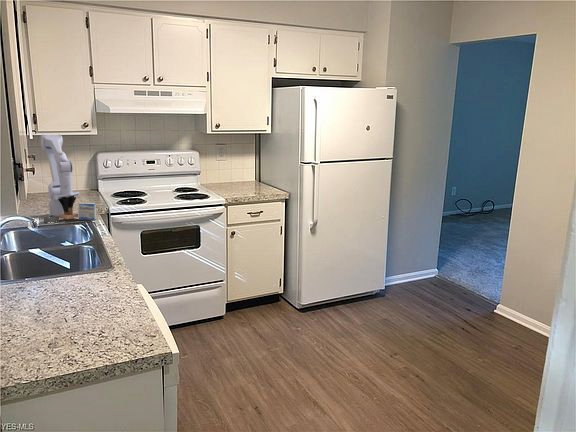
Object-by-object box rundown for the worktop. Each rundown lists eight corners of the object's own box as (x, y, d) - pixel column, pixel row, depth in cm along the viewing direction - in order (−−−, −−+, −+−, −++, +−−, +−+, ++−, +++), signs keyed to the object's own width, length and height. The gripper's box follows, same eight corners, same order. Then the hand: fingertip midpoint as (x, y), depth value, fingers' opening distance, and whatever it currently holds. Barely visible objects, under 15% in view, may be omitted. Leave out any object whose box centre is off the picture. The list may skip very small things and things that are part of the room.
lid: (67, 219, 232) (66, 209, 231) (59, 217, 235) (58, 208, 234) (78, 216, 238) (77, 207, 237) (69, 215, 240) (68, 206, 239)
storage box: (43, 222, 231) (43, 216, 230) (52, 220, 235) (52, 214, 235) (50, 223, 229) (50, 217, 228) (59, 221, 233) (58, 215, 233)
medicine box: (78, 220, 236) (78, 203, 234) (80, 218, 240) (79, 202, 238) (94, 220, 238) (94, 204, 236) (96, 218, 242) (95, 202, 240)
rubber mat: (57, 220, 235) (57, 220, 235) (69, 218, 241) (69, 217, 241) (67, 222, 232) (67, 221, 232) (80, 219, 238) (80, 219, 238)
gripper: (58, 187, 225) (61, 214, 227) (83, 184, 237) (85, 209, 240) (49, 186, 227) (51, 212, 230) (73, 183, 240) (75, 208, 243)
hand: (68, 211), depth 235 cm, fingers closed on lid
